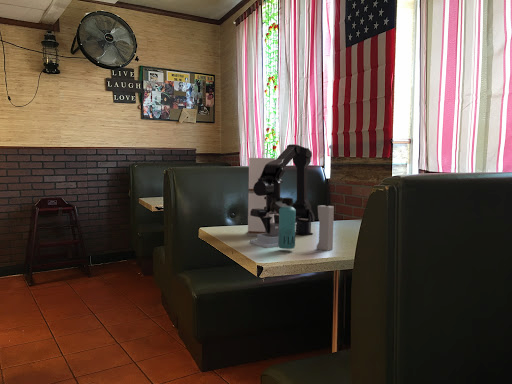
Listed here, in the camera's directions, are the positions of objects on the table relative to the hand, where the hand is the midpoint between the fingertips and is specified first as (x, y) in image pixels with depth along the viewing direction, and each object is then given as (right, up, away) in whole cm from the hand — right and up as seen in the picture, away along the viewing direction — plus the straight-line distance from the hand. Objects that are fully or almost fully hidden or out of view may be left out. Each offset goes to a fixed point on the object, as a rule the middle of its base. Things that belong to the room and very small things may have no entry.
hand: (272, 232), depth 160 cm
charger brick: (0, -1, 0) cm, 1 cm away
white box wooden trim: (-4, -3, +22) cm, 22 cm away
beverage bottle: (+5, -6, -13) cm, 15 cm away
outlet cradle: (0, -4, 0) cm, 4 cm away
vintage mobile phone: (+20, -6, -9) cm, 22 cm away
